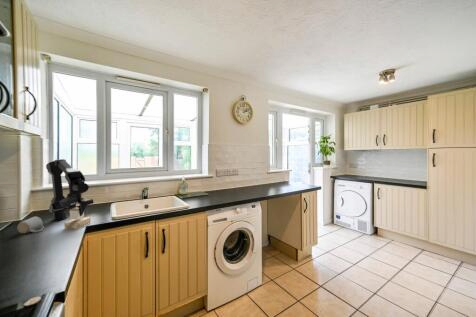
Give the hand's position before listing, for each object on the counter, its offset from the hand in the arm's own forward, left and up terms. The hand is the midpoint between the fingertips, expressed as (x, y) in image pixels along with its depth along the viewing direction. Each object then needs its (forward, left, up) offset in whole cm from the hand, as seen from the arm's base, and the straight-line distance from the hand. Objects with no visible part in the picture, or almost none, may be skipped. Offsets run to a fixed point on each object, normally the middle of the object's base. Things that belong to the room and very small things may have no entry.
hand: (77, 215), depth 122 cm
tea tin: (0, 0, -1) cm, 1 cm away
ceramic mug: (-21, -8, -7) cm, 24 cm away
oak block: (0, 0, -7) cm, 7 cm away
